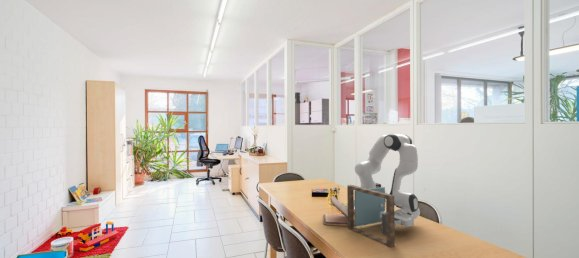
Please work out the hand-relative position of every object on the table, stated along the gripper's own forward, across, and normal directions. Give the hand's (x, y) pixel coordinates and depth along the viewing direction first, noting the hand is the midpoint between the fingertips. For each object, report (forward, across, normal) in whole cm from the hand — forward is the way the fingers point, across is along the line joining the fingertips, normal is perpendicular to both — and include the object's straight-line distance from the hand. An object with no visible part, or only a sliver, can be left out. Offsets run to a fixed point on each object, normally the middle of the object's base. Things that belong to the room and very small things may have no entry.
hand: (387, 220), depth 161 cm
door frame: (+12, -4, +8) cm, 15 cm away
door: (-2, -14, +7) cm, 15 cm away
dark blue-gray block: (-1, 0, +8) cm, 8 cm away
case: (+9, -34, +8) cm, 36 cm away
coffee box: (-46, -47, +8) cm, 66 cm away
